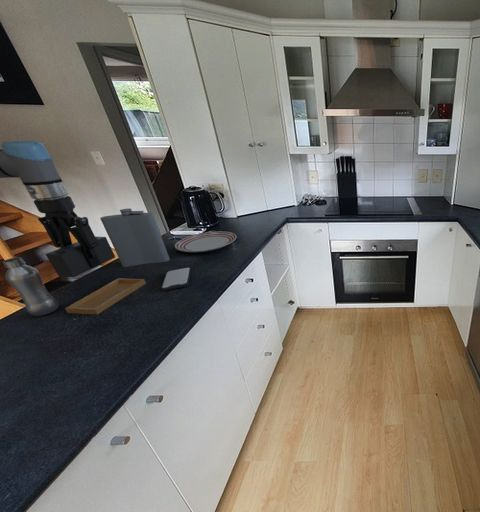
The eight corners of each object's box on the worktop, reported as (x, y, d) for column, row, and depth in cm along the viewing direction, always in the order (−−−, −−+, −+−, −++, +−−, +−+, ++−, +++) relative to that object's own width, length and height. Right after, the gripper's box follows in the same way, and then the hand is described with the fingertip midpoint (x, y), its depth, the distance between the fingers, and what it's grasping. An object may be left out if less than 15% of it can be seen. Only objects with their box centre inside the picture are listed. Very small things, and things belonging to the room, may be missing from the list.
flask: (171, 257, 129) (152, 206, 118) (168, 261, 125) (148, 208, 114) (126, 262, 124) (101, 209, 113) (121, 267, 120) (95, 212, 109)
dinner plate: (199, 235, 155) (198, 229, 153) (247, 236, 154) (245, 230, 152) (162, 256, 130) (160, 250, 128) (218, 258, 129) (217, 251, 128)
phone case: (167, 274, 115) (161, 292, 103) (166, 271, 115) (160, 289, 102) (192, 269, 119) (189, 286, 107) (191, 266, 119) (188, 283, 106)
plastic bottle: (38, 309, 93) (2, 257, 84) (65, 304, 96) (33, 253, 87) (27, 321, 88) (-13, 266, 79) (56, 315, 90) (21, 262, 82)
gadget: (102, 256, 98) (91, 235, 94) (115, 257, 98) (105, 236, 94) (58, 276, 85) (44, 253, 82) (73, 277, 85) (60, 253, 81)
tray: (67, 313, 91) (64, 308, 91) (120, 282, 109) (118, 278, 108) (97, 314, 91) (94, 309, 90) (146, 283, 109) (144, 279, 108)
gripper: (6, 199, 78) (49, 270, 88) (66, 201, 77) (102, 272, 88) (38, 193, 85) (74, 259, 95) (93, 195, 84) (124, 261, 94)
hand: (88, 265), depth 91 cm, fingers closed on gadget, 5 cm apart
